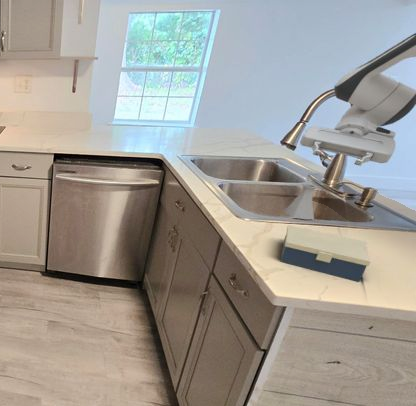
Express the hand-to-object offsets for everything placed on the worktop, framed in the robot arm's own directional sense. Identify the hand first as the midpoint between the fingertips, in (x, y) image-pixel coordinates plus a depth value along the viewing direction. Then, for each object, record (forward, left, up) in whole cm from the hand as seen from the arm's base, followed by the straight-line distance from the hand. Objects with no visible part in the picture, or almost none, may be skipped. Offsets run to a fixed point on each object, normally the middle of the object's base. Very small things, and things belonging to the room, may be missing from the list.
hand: (336, 158), depth 106 cm
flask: (+4, +4, -18) cm, 19 cm away
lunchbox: (0, +34, -18) cm, 38 cm away
